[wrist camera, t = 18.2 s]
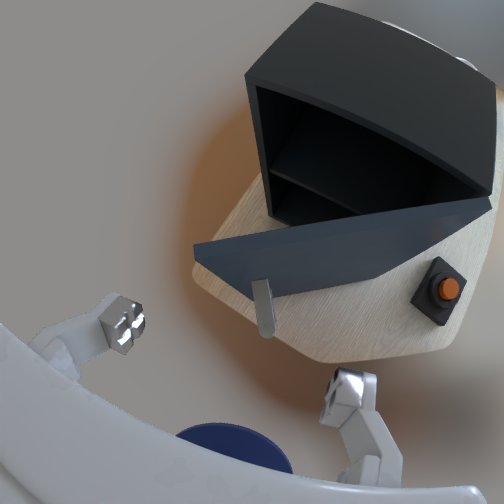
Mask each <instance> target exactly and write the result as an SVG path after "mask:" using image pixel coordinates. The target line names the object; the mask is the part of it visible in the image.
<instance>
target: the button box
mask: <svg viewBox="0 0 504 504" xmlns="http://www.w3.org/2000/svg"><path fill="white" fill-rule="evenodd" d="M449 278H452V279H454V280H456V281H457V283H458V286H459V292H458V295H457V296H456V297H455V298H454V299H449V300H444V299H443V298H442V297H441V296H440V294H439V285H440V283H441V282H442V281H443V280H446V279H449ZM466 282H467V280H466V279H465V278H463V277H462V276H461V275H460V274H459V273H458V272H457V271H456V270H455V269H453V268H452V267H451V266H450V265H449V264H448V263H447V262H445V261H444V260H443V259H442V258H441V257H440V256H439V257H437V258H435V259H434V260H433V262H432V264H431V266H430V268H429V270H428V272H427V273H426V275H425V277H424V279H423V281H422V282H421V284H420V286H419V288H418V290H417V291H416V293H415V295H414V296H413V298H412V300H411V302H410V303H412V304H413V305H414V306H415V307H416V308H418V309H419V310H420V311H421V312H423V313H424V314H425V315H426V316H428V317H429V318H430V319H431V320H432V321H434V322H435V323H436V324H437V325H438V326H445V324H446V322H447V320H448V318H449V316H450V315H451V313H452V311H453V309H454V307H455V305H456V304H457V303H458V300H459V298H460V296H461V293H462V291H463V289H464V286H465V284H466Z"/></svg>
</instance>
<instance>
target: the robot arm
mask: <svg viewBox="0 0 504 504" xmlns="http://www.w3.org/2000/svg"><path fill="white" fill-rule="evenodd" d="M142 311H143V309H142V305H141V304H139V303H137V302H134V301H132V300H130V299H128V298H125V297H123V296H121V295H119V294H116V293H114V292H111V293H109V294H108V295H107V296H106V297H105V298H104V299H103V300H102V301H101V302H100V303H99V304H98V305H97V306H96V307H95V308H94V309H93V310H92V311H91V312H90V313H89V314H87V313H85V314H82V315H79V316H77V317H74V318H70V319H68V320H65V321H62V322H59V323H56V324H53V325H50V326H47V327H44V328H43V329H42V330H41V331H40V332H39V333H38V334H37V335H36V336H35V337H34V338H33V339H32V341H30V343H29V344H28V345H25V344H24V343H23V342H22V341H20V340H19V339H18V338H17V337H16V336H15V335H14V334H13V333H11V332H10V331H9V330H8V329H7V328H6V327H5V326H4V325H2V324H1V323H0V504H487V502H486V500H485V498H484V497H483V495H482V494H481V492H480V491H479V489H478V488H477V487H476V486H473V485H468V486H456V487H442V488H400V484H401V474H402V464H403V463H402V462H403V457H402V455H401V453H400V451H399V449H398V447H397V446H396V444H395V442H394V440H393V438H392V436H391V434H390V433H389V431H388V429H387V427H386V425H385V423H384V422H383V420H382V418H381V416H380V414H379V412H377V411H375V399H376V379H377V378H376V375H374V374H370V373H365V372H362V371H356V370H352V369H348V368H343V367H338V368H337V369H336V371H335V375H334V377H333V378H331V380H330V382H329V384H328V387H327V389H326V393H325V397H324V401H325V403H326V404H325V406H324V407H323V409H322V412H321V417H320V422H319V424H322V425H327V426H331V427H335V428H340V429H339V431H340V433H341V436H342V439H343V442H344V444H345V447H346V450H347V453H348V455H349V458H350V461H351V464H352V466H350V467H349V468H347V469H346V470H344V471H343V472H341V473H340V474H339V475H338V479H337V482H330V481H324V480H318V479H312V478H307V477H302V476H298V475H293V474H289V473H284V472H280V471H276V470H272V469H268V468H265V467H261V466H257V465H254V464H250V463H247V462H244V461H241V460H238V459H235V458H232V457H228V456H225V455H222V454H220V453H217V452H214V451H211V450H209V449H206V448H203V447H201V446H198V445H196V444H193V443H191V442H188V441H186V440H183V439H181V438H179V437H176V436H174V435H171V434H169V433H167V432H165V431H163V430H161V429H159V428H156V427H154V426H152V425H150V424H148V423H146V422H144V421H142V420H140V419H138V418H136V417H134V416H133V415H130V414H129V413H127V412H125V411H123V410H121V409H120V408H118V407H116V406H114V405H112V404H110V403H109V402H107V401H106V400H104V399H102V398H100V397H99V396H97V395H96V394H94V393H92V392H91V391H89V390H87V389H86V388H84V387H83V386H81V385H80V384H78V383H77V382H78V380H79V379H80V378H81V373H80V372H79V370H78V369H77V365H80V364H81V363H84V362H85V361H88V360H89V359H91V358H93V357H95V356H97V355H99V354H101V353H103V352H105V351H107V350H109V349H110V348H111V349H113V350H115V351H117V352H119V353H121V354H124V355H126V354H127V352H128V351H129V350H130V348H131V347H132V346H133V340H134V339H136V338H139V337H140V335H141V334H142V332H143V330H144V327H145V318H144V316H143V315H142V314H141V312H142Z"/></svg>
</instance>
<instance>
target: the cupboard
mask: <svg viewBox="0 0 504 504" xmlns="http://www.w3.org/2000/svg"><path fill="white" fill-rule="evenodd" d="M244 76H245V81H246V87H247V92H248V98H249V103H250V109H251V114H252V120H253V126H254V132H255V137H256V143H257V148H258V154H259V160H260V166H261V172H262V179H263V185H264V191H265V197H266V203H267V209H268V216H270V217H272V218H274V219H276V220H278V221H280V222H282V223H284V224H286V225H288V226H290V227H295V226H301V225H307V224H312V223H318V222H324V221H330V220H336V219H342V218H349V217H355V216H361V215H367V214H373V213H380V212H386V211H392V210H399V209H405V208H412V207H419V206H425V205H432V204H439V203H445V202H452V201H459V200H466V199H473V198H481V197H488V196H490V195H491V194H492V191H493V183H494V173H495V160H496V141H497V106H496V87H495V83H494V82H493V81H492V80H490V79H489V78H487V77H485V76H484V75H483V74H481V73H480V72H478V71H477V70H475V69H474V68H472V67H470V66H469V65H467V64H466V63H464V62H462V61H461V60H459V59H457V58H456V57H454V56H452V55H450V54H448V53H447V52H445V51H443V50H441V49H439V48H437V47H436V46H434V45H432V44H430V43H428V42H426V41H424V40H422V39H419V38H417V37H415V36H413V35H411V34H409V33H406V32H404V31H402V30H400V29H397V28H395V27H392V26H390V25H387V24H385V23H382V22H380V21H377V20H374V19H372V18H369V17H366V16H363V15H360V14H357V13H354V12H351V11H348V10H344V9H341V8H337V7H334V6H330V5H327V4H323V3H319V2H315V3H314V4H313V5H311V6H310V7H309V8H308V9H307V10H306V11H305V12H304V13H303V14H302V15H301V16H300V17H299V18H298V19H297V20H296V21H295V22H294V23H293V24H291V26H290V27H289V28H288V29H287V30H286V31H284V33H283V34H282V35H281V36H280V37H279V38H278V39H277V40H276V41H275V42H274V43H273V44H272V45H271V46H270V47H269V48H268V49H267V50H266V51H265V52H264V53H263V55H262V56H261V57H260V58H259V59H258V60H257V61H256V62H255V63H254V64H253V66H252V67H251V68H250V69H249V70H248V71H247V72H246V73H245V75H244Z"/></svg>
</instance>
